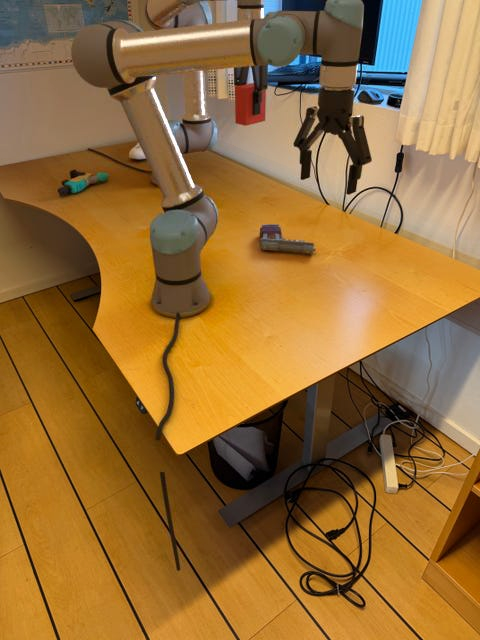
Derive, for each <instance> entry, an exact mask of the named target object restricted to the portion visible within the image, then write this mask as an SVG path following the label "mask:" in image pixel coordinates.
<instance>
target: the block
mask: <svg viewBox="0 0 480 640" xmlns="http://www.w3.org/2000/svg"><path fill="white" fill-rule="evenodd" d="M258 87H259V86H258ZM254 90H255V88H254V82H252V83H247V84H245V85H240V86H235V85H234V116H235V117H234V118H235V124H237V125H241V126H245V127H247V126H252V125H254V124H258V123H262V122H266V106H267V105H266V103H267V100H266V99H267V98H266V97H267V89H266V90H263V91H262V103H261V114H257V115H253V91H254Z"/></svg>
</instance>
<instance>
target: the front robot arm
mask: <svg viewBox="0 0 480 640" xmlns="http://www.w3.org/2000/svg"><path fill="white" fill-rule="evenodd" d="M363 2H364V1H363V0H326V2H325V5H324V8H323V10H317V11H308V10H307V11H305V10H302V11H301V10H274V11H268V12H267V13H265V14H264V18H258V19H250V20H242V21H237V20H235V21H234V20H233V21H225V22H217V23H212V24H207V25H198V26H189V27H181V28H172V29H163V30H155V29H153V30H146V31H144V29H142V27H140V26H139V25H137V24H136V23H134V22H132V21H129V20H123V19H112V20H108V21H105V22H99V23H95V24H89V25H86V26H84V27H83V28H82V29H80V30H79V31H78V32H77V33H76V35H75V36H74V38H73V40H72V43H71V47H70V56H71V61H72V64H73V67H74V69H75V71H76V73H77V74H78V76H79V77H80V78H81V79H82V80H83V81H84V82H86V83H87V84H88V85H91V86H93V87H96V88H100V89H106V91H107V92H108V94H109V96H110V98H112V99H113V100H116V101H118V102H119V103H120V105H121V107H122V109H123V111H124V113H125V116H126V117H127V120H128V122H129V125H130V126H131V129H132V131H133V133H134V135H135V138H136V140H137V141H138V142H139V144H140V146H141V148H142V151H143V153H144V155H145V157H146V159H145V160H146V162H147V164H148V166H149V168H150V171H152V173H153V175H154V177H155V179H156V181H157V183H158V186H159V187H158V186H157V187H158V188H159V190H160V192H161V195H162V196H163V198H162V200H161V203H160V206H161V209H162V211H163V213H162V212H161V213H159V214H157V215H156V216H155V217H154V218H153V219H152V221H151V222H150V225H149V241H150V247H151V253H152V260H153V261H152V262H153V268H154V274H155V275H154V276H155V281H154V284H153V290H152V294H151V305H152V308H153V310H154V311H155V312H156V313H157V314H159V315H160V316H163V317H167V318H171V319H175V321H174V328H173V330H174V331H173V334H172V335H173V336H172V337H171V340H170V341H169V343H168V345H167V346H166V348H165V349H164V351H163V354H162V367H163V369H164V371H165V374H166V376H167V381H168V390H169V391H168V392H169V398H168V405H167V409H166V413H165V414H164V416H163V417H162V419H161V420H160V422H159V423H158V427H157V429H156V433H155V441H156V442H159V441H160V440H161V438H162V432H163V428H164V426H165V424H167V421H168V420H169V418H170V417H171V414H172V413H173V408H174V402H175V388H174V387H175V386H174V378H173V375H172V372H171V370H170V368H169V365H168V355H169V352H170V350H171V349H172V347H174V344H175V342H176V340H177V337H178V335H179V326H180V325H179V324H180V319H183V318H185V319H186V318H190V317H194V316H196V315H199V314H201V313H202V312H204V311H205V310H207V308H208V307H209V306H210V303H211V294H210V293H211V292H210V290H209V288H208V286H207V284H206V281H205V278H204V277H203V275H202V262H201V261H202V259H201V253H202V250H203V249H204V247H205V246H206V244H207V243H208V241H209V239H210V238H211V237H212V236H213V235H214V233H215V231H216V229H217V226H218V223H219V210H218V207H217V205H216V203H215V202H214V200H213V199H212V198H211V197H210V196H209V197H208V196H207V195H206V193H205V192H204V190H203V187H202V186H200V185H198V184H195V182H194V180H193V178H192V175H191V173H190V171H189V168H188V166H187V164H186V161H185V159H184V157H183V154H181V151H180V149H179V147H178V144H177V142H176V139H175V137H174V135H173V132H172V130H171V127H170V125H169V123H168V120H169V119H168V118H167V115H166V113H165V111H164V108H163V105H162V104H161V100H160V99H159V97H158V93H157V92H156V89H155V85H156V81H157V76H160V75H163V76H164V75H172V74H182V73H184V72H194V71H205V72H206V71H215V70H224V69H225V70H226V69H234V68H236V67H247V66H249V67H250V66H258V65H259V66H262V65H268V66H272V67H275V68H279V67H285V66H288V65H290V64H292V63H293V62H294V61H295V60H296V59H297V58H298V57H299V55H303V56H304V55H313V56H317V55H321V57H320V58H321V60H320V69H319V70H320V71H319V80H318V84H319V86H321V87H319V89H318V95H317V106H316V105H314V106H310V107H307V109H306V111H305V116H304V117H305V118H304V120H303V121H302V124H301V126H300V128H299V130H298V132H297V135H296V137H295V139H294V141H293V145H292V146H293V147H294V148H297V149H298V150H299V165H301V166H300V180H301V181H304V180H307V179H309V178H311V168H312V156H313V150H311V147H312V146H313V145H314V144H315V142H316V141H317V140H318V139H319V137H321V136H322V134H323V133H324V134H331V135H333V136H337V137H338V139H340V140H341V142H342V144H343V146H344V148H345V150H346V153H347V155H348V156H349V158H350V160H351V162H352V164H350V165H349V168H348V177H347V184H346V185H347V186H346V193H345V194H346V195H350V196H351V194H354V193H356V192H357V188H358V187H357V186H358V180H361V178H362V173H363V166H365V165H367V164H370V163H372V161H373V159H372V154H371V151H370V146H369V142H368V139H367V135H366V130H365V116H364V115H362V114H360V115H357V116H355V115H352V110H353V106H354V101H355V93H356V91H355V88H354V87H355V86H356V85H357V84H356V83H357V76H358V75H357V74H358V66H359V58H360V50H361V42H362V34H363V29H364V28H363V27H364V13H365V4H364V3H363ZM316 119H317V120H318V123H317V124H316V125H315V126H314V127H313V125H314V123H315V121H316ZM312 128H313V130H312ZM311 130H312V131H311ZM138 142H137V143H138ZM152 173H151V174H152ZM159 477H160V483H161V490H162V497H163V504H164V509H165V514H166V520H167V525H168V532H169V536H170V540H171V545H172V551H173V556H174V562H175V568H176V571H177V572H179V571H181V563H180V558H179V551H178V546H177V540H176V534H175V529H174V524H173V518H172V512H171V506H170V501H169V493H168V487H167V479H166V473H165V471H159Z"/></svg>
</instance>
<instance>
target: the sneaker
mask: <svg viewBox="0 0 480 640" xmlns="http://www.w3.org/2000/svg"><path fill="white" fill-rule="evenodd" d="M128 156H129V157H128V158H129V159H132V160H138V161H139V160H147V159H146V157H145V155H144V153H143V151H142V148H141V146H140V144H139V142H137V143H136V144H135V146H133V148H131V149H130V151H129V152H128Z"/></svg>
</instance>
